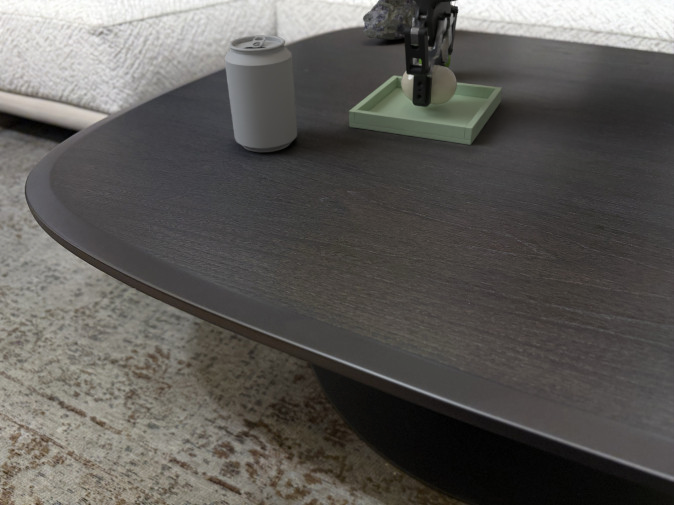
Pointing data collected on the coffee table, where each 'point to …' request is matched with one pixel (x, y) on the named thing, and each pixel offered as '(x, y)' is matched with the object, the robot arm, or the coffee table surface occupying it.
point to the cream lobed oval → (434, 85)
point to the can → (261, 92)
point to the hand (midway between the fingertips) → (428, 98)
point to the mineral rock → (389, 19)
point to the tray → (427, 112)
